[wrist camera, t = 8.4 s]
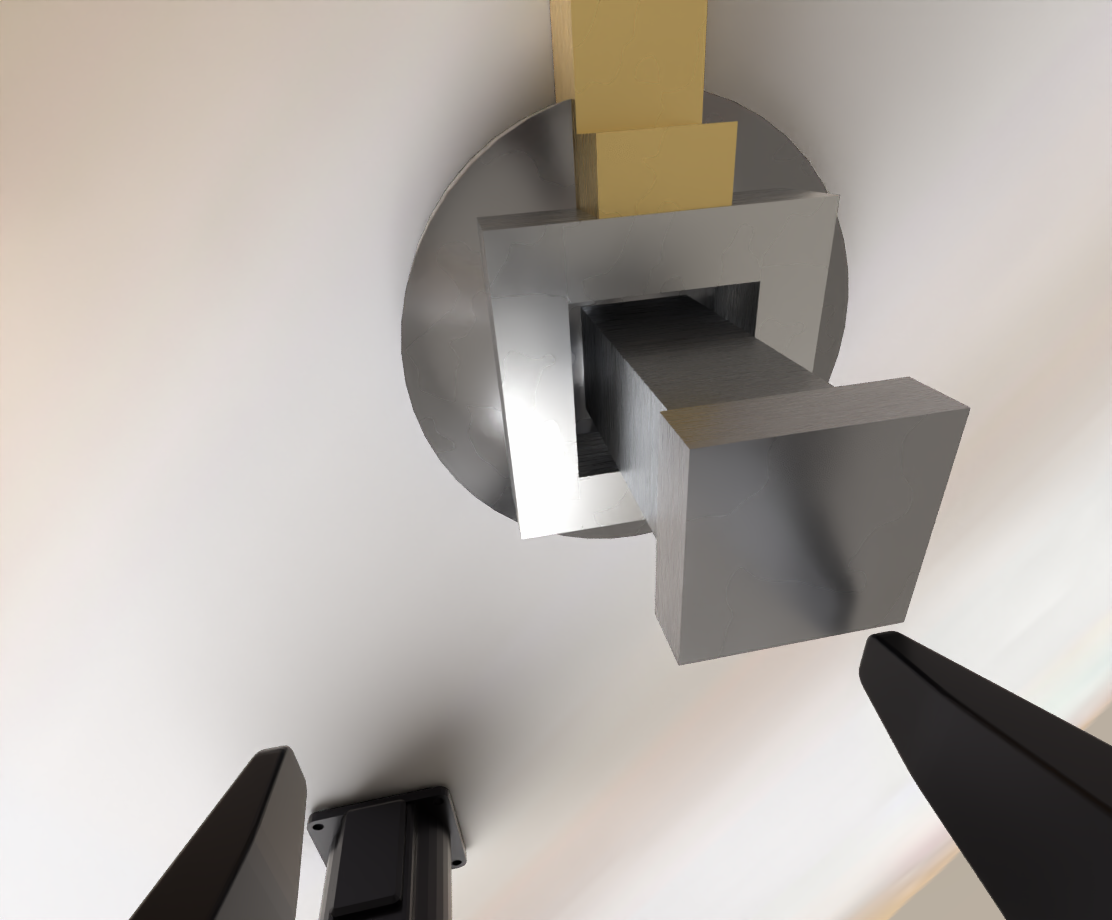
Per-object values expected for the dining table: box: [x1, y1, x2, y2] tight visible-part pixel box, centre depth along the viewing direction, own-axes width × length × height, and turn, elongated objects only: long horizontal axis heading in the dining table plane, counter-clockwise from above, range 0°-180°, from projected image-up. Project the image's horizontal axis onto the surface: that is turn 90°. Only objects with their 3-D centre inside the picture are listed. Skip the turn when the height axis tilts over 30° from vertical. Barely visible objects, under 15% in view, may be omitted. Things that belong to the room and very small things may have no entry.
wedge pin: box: [581, 295, 970, 665], centre depth 13 cm, size 4×4×9 cm
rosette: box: [401, 0, 848, 539], centre depth 15 cm, size 18×13×4 cm
